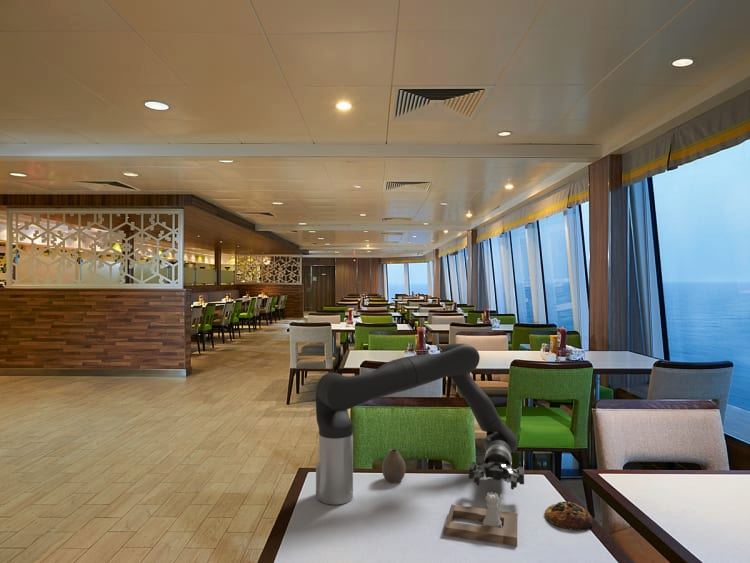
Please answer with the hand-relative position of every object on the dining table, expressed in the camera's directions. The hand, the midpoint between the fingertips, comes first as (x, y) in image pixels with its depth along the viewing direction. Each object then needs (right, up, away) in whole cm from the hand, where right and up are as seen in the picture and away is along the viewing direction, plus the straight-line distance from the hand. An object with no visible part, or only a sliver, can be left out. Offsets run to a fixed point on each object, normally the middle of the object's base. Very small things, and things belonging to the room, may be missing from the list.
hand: (495, 483), depth 120 cm
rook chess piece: (-3, -7, -9) cm, 12 cm away
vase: (-25, -8, +19) cm, 32 cm away
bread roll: (+17, -7, -5) cm, 19 cm away
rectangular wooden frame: (-5, -7, -9) cm, 12 cm away
